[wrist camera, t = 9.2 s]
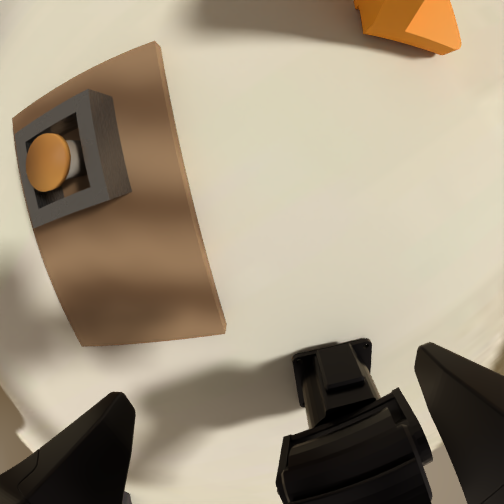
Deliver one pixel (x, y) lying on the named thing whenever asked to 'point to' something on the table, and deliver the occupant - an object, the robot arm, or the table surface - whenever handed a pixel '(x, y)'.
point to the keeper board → (125, 217)
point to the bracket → (412, 23)
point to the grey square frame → (94, 151)
